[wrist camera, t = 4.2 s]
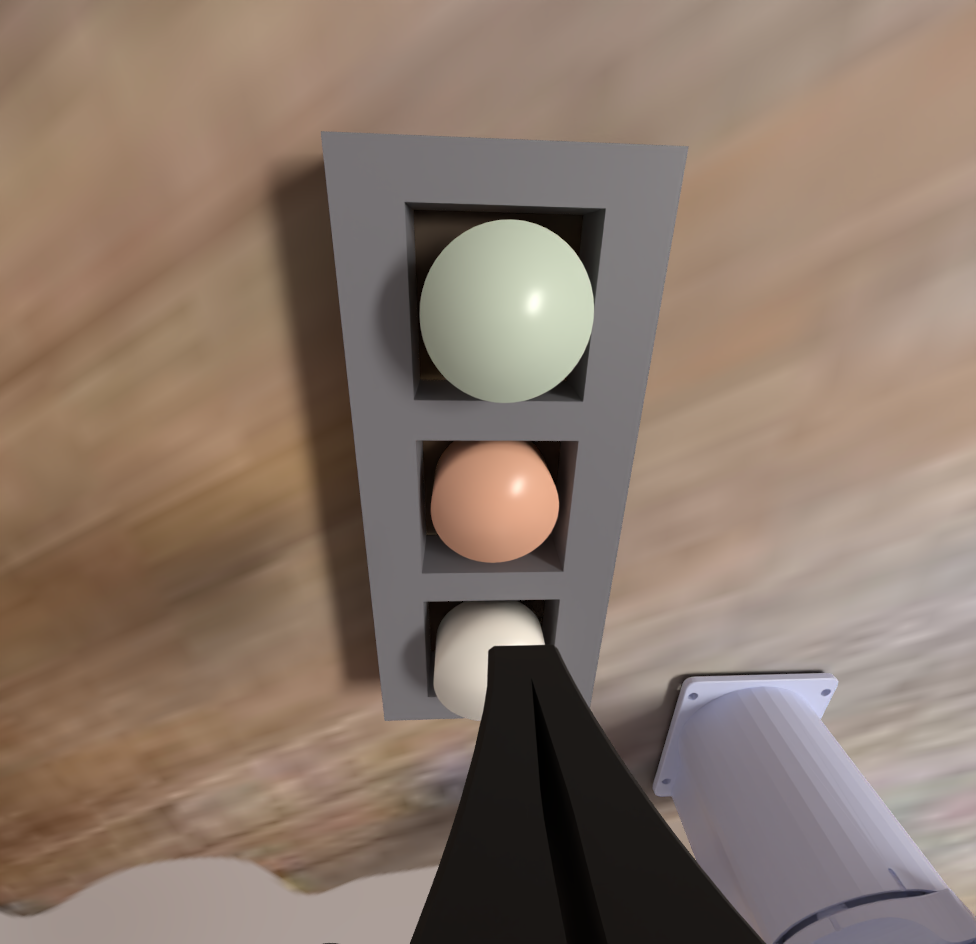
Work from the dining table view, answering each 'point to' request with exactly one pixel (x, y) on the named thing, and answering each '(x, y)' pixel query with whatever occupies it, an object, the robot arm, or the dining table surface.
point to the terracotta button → (493, 499)
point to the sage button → (506, 311)
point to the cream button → (477, 649)
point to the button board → (458, 416)
